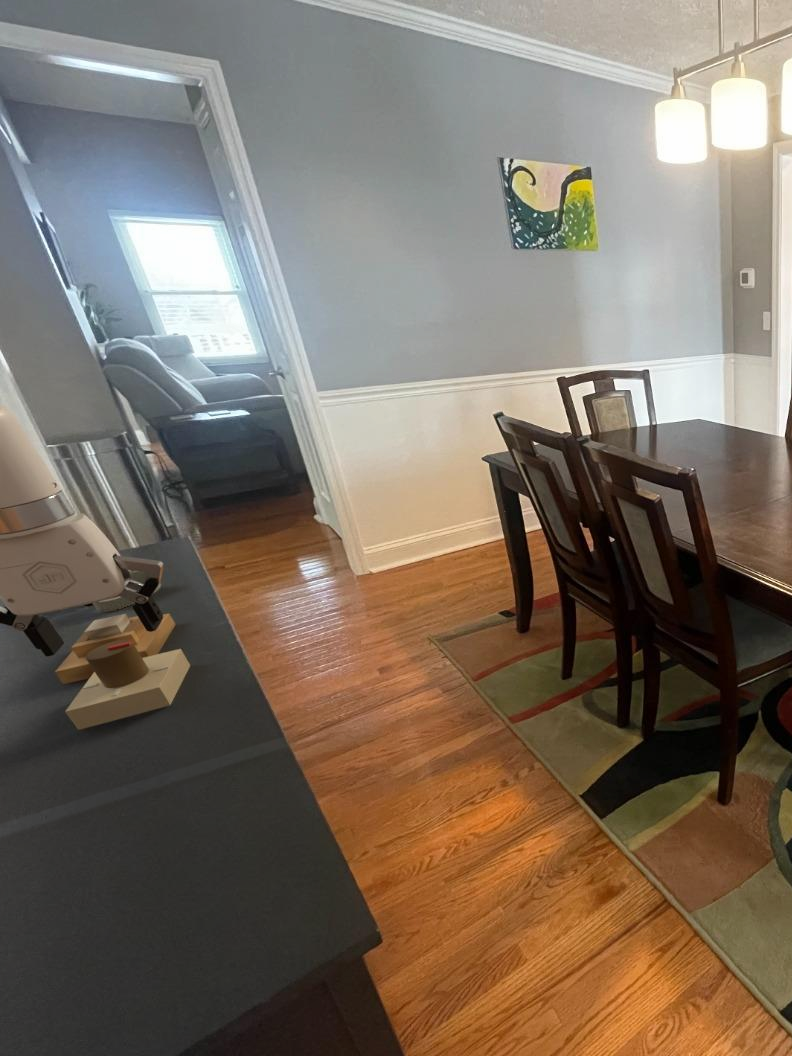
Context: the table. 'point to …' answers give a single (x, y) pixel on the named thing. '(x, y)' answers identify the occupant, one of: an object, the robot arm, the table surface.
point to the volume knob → (117, 663)
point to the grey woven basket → (120, 601)
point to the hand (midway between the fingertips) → (107, 638)
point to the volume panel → (130, 692)
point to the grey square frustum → (107, 627)
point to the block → (142, 639)
